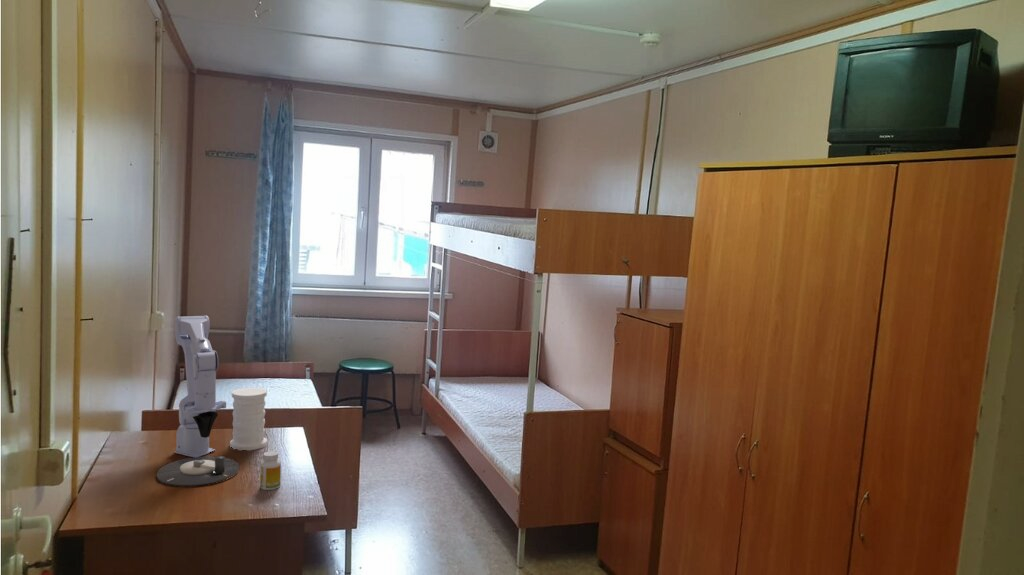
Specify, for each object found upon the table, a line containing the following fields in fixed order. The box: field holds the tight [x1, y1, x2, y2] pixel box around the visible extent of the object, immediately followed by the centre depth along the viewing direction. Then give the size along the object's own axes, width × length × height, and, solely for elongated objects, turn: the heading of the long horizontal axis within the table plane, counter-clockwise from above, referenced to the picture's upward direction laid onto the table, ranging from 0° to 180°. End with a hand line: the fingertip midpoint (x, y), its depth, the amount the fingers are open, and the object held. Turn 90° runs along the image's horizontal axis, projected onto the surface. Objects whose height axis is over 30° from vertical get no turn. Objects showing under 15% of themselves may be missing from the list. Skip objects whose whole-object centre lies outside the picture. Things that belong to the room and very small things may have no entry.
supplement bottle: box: [259, 450, 282, 491], centre depth 198 cm, size 5×5×10 cm
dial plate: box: [156, 456, 240, 488], centre depth 206 cm, size 22×22×1 cm
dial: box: [180, 455, 226, 475], centre depth 205 cm, size 14×10×5 cm
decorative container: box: [229, 387, 268, 451], centre depth 231 cm, size 12×12×18 cm
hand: (204, 436), depth 210 cm, fingers closed
